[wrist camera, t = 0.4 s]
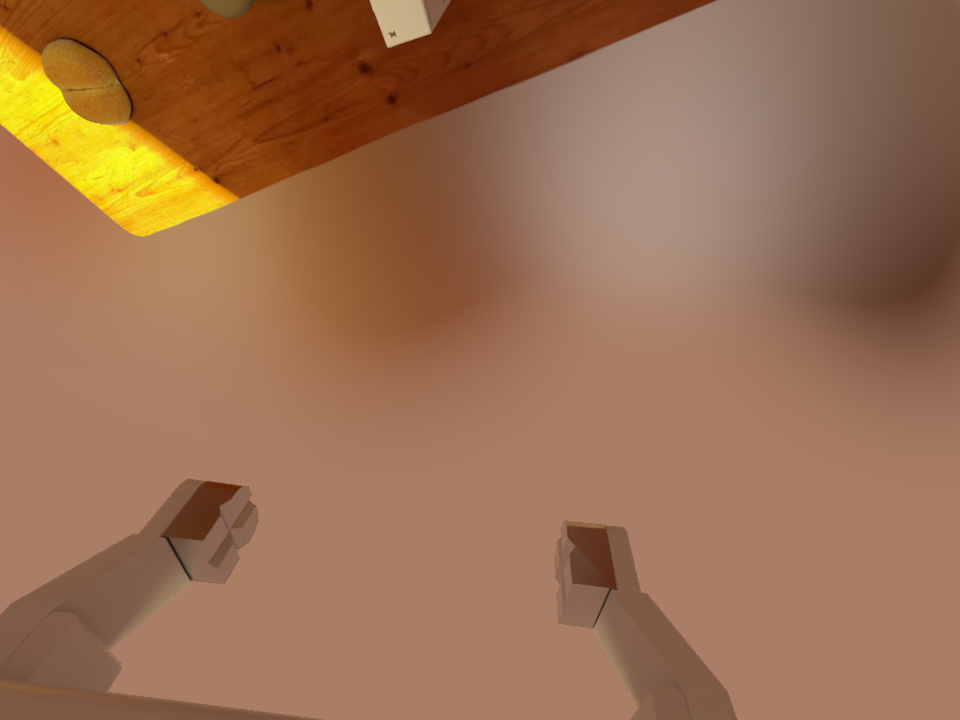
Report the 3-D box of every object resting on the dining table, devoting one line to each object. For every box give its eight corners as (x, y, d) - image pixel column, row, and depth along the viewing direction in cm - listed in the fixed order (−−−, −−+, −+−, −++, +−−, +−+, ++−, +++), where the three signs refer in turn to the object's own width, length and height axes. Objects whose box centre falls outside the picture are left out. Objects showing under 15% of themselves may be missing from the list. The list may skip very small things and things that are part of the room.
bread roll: (97, 36, 50) (74, 48, 47) (147, 118, 57) (128, 132, 54) (33, 36, 51) (6, 47, 48) (89, 117, 58) (68, 131, 55)
